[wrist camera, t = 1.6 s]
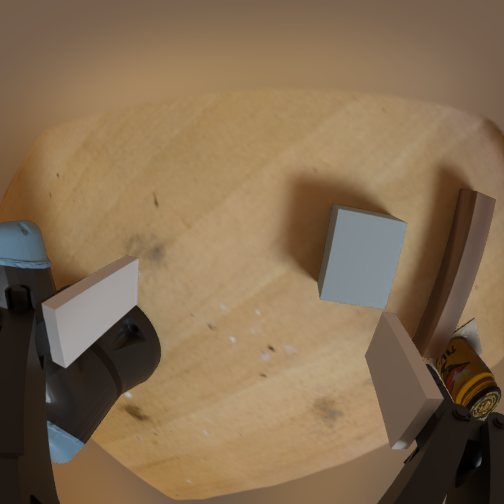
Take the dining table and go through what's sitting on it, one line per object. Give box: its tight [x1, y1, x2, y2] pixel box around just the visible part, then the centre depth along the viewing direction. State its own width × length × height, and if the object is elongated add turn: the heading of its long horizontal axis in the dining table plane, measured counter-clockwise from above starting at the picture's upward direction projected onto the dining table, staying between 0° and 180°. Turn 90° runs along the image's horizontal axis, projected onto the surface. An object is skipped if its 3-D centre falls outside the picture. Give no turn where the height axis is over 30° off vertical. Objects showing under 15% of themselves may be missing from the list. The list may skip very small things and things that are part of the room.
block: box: [317, 204, 407, 309], centre depth 29 cm, size 7×9×5 cm
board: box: [413, 189, 496, 359], centre depth 28 cm, size 3×20×4 cm, turn 170°
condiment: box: [429, 319, 501, 420], centre depth 27 cm, size 7×8×12 cm
